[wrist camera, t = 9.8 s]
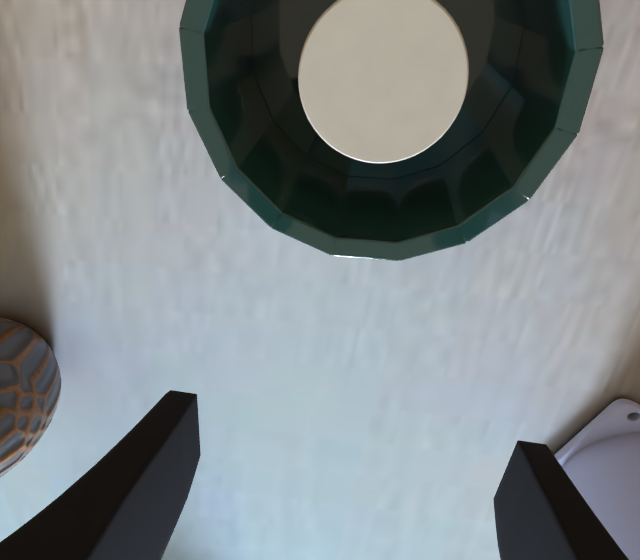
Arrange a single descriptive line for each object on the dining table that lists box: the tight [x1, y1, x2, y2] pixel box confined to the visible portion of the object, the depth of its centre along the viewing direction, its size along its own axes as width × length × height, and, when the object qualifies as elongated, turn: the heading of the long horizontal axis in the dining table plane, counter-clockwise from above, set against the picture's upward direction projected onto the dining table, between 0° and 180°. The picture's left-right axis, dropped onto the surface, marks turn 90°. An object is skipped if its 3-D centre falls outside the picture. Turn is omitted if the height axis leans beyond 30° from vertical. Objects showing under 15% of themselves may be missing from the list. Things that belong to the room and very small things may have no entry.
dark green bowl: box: [179, 0, 604, 261], centre depth 14 cm, size 10×10×6 cm
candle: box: [298, 0, 469, 163], centre depth 14 cm, size 4×4×5 cm
